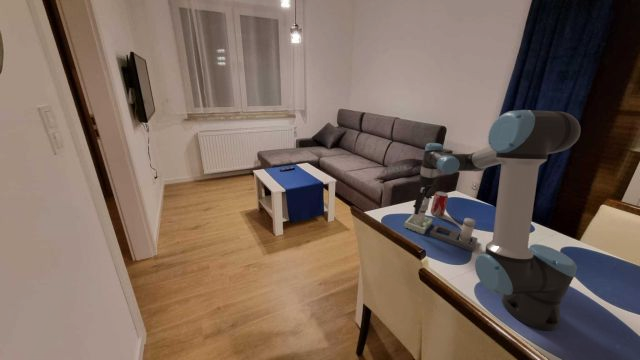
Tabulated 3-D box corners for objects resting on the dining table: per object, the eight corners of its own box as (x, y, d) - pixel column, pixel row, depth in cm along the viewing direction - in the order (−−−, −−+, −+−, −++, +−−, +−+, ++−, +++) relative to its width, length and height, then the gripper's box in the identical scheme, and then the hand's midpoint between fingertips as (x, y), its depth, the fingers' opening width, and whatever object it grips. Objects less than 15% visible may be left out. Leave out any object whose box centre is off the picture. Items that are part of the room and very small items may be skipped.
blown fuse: (421, 228, 131) (425, 207, 127) (412, 224, 134) (416, 204, 129) (424, 224, 135) (428, 203, 130) (415, 221, 137) (419, 201, 133)
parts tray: (423, 234, 127) (424, 229, 126) (403, 227, 132) (404, 222, 131) (431, 224, 136) (432, 219, 135) (412, 217, 142) (413, 212, 141)
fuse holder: (472, 251, 115) (480, 228, 111) (429, 235, 126) (434, 214, 122) (476, 241, 123) (483, 219, 118) (435, 227, 134) (440, 206, 129)
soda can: (427, 212, 148) (431, 191, 144) (436, 210, 151) (441, 190, 147) (437, 218, 143) (442, 197, 138) (446, 216, 145) (451, 195, 141)
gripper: (428, 184, 113) (419, 226, 121) (443, 170, 131) (435, 208, 139) (411, 180, 117) (403, 220, 125) (428, 167, 135) (421, 203, 143)
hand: (420, 214), depth 132 cm, fingers open, 13 cm apart
